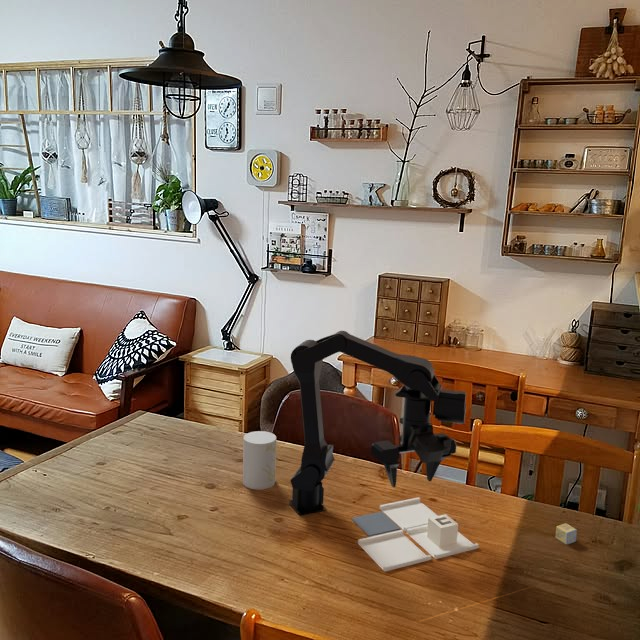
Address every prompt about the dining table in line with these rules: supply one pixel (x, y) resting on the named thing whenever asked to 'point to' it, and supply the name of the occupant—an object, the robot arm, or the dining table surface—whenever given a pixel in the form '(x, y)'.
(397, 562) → the tray
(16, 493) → the dining table surface
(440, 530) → the letter cube
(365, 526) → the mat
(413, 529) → the tray
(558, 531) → the alphabet block
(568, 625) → the dining table surface
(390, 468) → the robot arm
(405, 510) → the tray
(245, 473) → the white cylinder
